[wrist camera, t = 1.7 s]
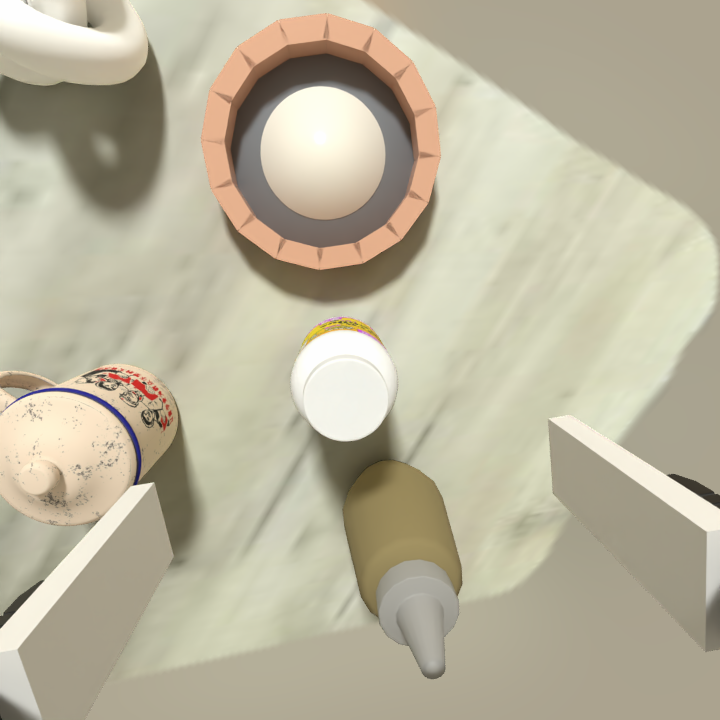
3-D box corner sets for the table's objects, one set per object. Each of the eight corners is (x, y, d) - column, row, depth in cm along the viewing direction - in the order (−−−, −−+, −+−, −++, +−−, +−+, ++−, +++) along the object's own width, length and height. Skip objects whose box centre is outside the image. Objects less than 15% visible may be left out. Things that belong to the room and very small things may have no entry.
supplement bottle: (394, 331, 37) (427, 364, 24) (366, 405, 38) (384, 474, 26) (315, 303, 36) (307, 323, 24) (289, 380, 37) (268, 438, 25)
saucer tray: (237, 282, 35) (230, 283, 33) (191, 52, 32) (178, 33, 29) (441, 251, 36) (450, 250, 33) (416, 22, 33) (424, 0, 30)
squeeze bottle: (427, 534, 41) (501, 738, 23) (337, 529, 40) (342, 735, 23) (439, 450, 39) (528, 599, 22) (345, 443, 39) (359, 591, 21)
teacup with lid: (204, 403, 37) (149, 464, 26) (143, 487, 38) (64, 581, 27) (71, 314, 35) (-53, 338, 24) (10, 406, 36) (-136, 471, 25)
